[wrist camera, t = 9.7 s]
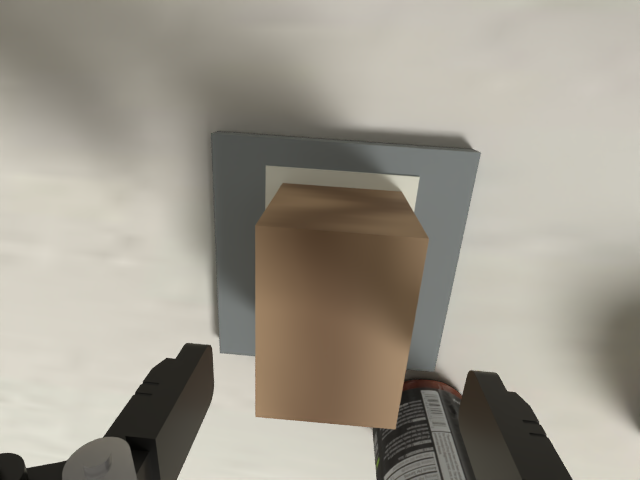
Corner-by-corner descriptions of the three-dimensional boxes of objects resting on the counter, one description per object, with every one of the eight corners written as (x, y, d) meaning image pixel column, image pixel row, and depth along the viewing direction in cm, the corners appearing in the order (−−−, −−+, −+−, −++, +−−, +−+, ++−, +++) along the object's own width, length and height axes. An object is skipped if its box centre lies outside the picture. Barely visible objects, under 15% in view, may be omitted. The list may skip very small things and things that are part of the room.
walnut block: (401, 191, 18) (429, 238, 12) (381, 337, 21) (395, 429, 15) (282, 182, 18) (255, 225, 12) (278, 328, 21) (255, 416, 15)
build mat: (473, 149, 18) (481, 152, 17) (430, 360, 22) (434, 373, 21) (217, 131, 18) (210, 133, 17) (224, 342, 23) (219, 354, 22)
